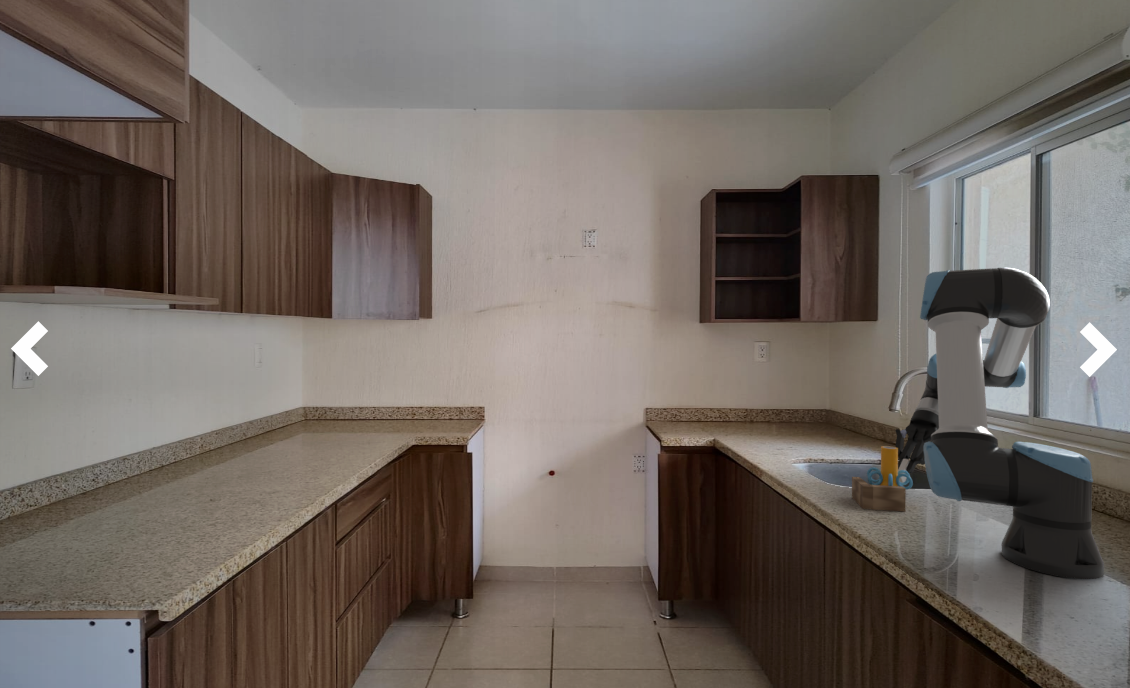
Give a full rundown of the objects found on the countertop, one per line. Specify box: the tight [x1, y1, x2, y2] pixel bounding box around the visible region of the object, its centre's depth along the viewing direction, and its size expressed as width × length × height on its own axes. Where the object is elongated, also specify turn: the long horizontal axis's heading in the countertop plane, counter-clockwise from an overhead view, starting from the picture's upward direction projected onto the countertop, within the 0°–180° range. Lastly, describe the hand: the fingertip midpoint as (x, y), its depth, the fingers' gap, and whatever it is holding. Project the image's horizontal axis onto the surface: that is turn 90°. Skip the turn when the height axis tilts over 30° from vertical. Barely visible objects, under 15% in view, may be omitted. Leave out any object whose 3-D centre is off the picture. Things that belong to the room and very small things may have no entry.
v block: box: [851, 476, 907, 513], centre depth 143 cm, size 9×14×6 cm, turn 32°
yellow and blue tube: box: [866, 445, 914, 491], centre depth 147 cm, size 12×10×15 cm
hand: (899, 480), depth 151 cm, fingers closed
